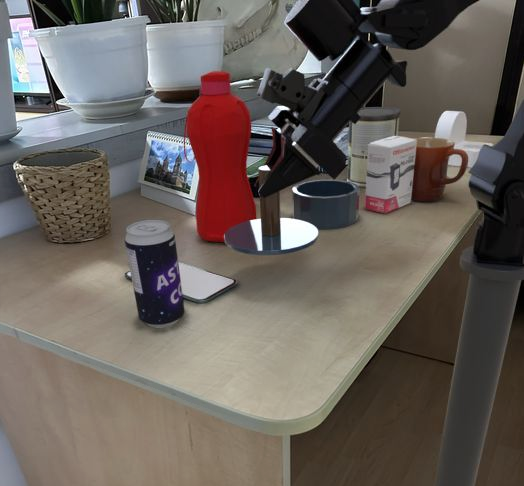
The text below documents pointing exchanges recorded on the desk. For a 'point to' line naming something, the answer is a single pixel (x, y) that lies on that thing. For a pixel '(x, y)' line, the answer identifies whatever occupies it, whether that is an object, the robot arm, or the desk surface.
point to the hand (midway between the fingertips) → (258, 192)
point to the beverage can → (155, 272)
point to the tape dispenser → (458, 137)
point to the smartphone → (200, 283)
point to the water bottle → (220, 157)
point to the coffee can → (368, 138)
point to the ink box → (390, 173)
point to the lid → (270, 229)
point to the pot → (326, 203)
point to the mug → (434, 168)
